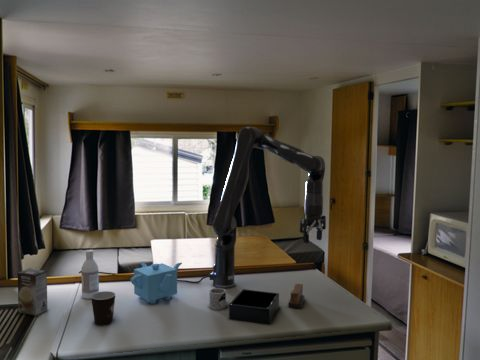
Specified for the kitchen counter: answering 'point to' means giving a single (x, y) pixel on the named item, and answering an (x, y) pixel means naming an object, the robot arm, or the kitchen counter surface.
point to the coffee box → (32, 291)
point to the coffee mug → (103, 307)
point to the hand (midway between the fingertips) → (312, 241)
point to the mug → (217, 298)
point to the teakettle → (155, 281)
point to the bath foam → (89, 276)
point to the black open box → (254, 306)
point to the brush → (297, 296)
